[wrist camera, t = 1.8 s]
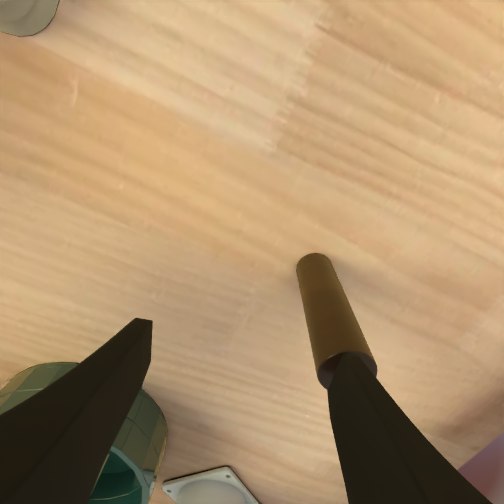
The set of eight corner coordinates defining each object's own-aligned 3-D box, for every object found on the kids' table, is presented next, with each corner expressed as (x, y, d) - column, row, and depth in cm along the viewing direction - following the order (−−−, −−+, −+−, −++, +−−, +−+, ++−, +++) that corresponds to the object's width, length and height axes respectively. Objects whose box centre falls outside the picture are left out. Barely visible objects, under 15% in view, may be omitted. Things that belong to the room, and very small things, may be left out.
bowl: (197, 451, 29) (184, 513, 25) (76, 484, 32) (46, 544, 28) (100, 338, 24) (61, 392, 19) (-34, 392, 27) (-94, 449, 22)
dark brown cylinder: (337, 276, 20) (385, 385, 12) (304, 289, 21) (329, 401, 13) (324, 247, 20) (367, 343, 11) (290, 261, 20) (308, 362, 12)
